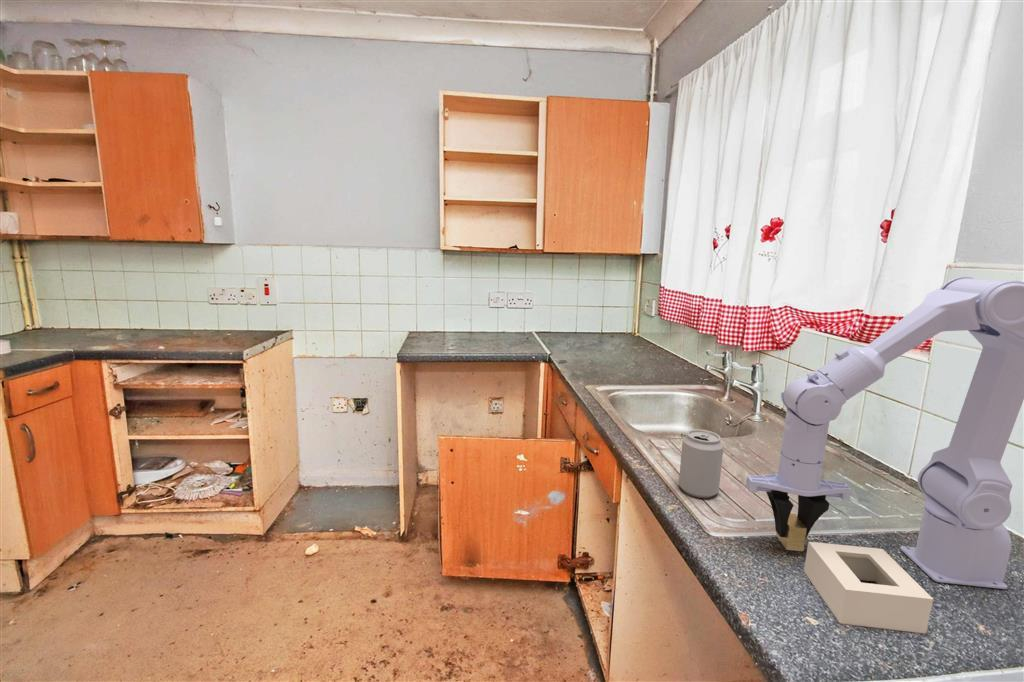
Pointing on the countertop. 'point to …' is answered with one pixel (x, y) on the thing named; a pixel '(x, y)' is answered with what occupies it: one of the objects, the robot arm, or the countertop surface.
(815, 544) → the box
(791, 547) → the block
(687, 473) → the can
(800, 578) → the countertop surface
